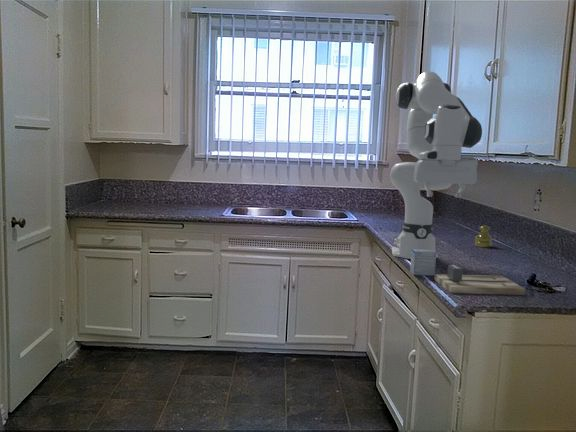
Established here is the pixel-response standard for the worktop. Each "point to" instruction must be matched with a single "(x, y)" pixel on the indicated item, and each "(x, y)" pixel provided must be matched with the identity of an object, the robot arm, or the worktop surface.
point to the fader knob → (454, 273)
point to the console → (480, 284)
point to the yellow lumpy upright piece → (483, 237)
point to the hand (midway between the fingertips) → (443, 197)
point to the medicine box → (423, 262)
